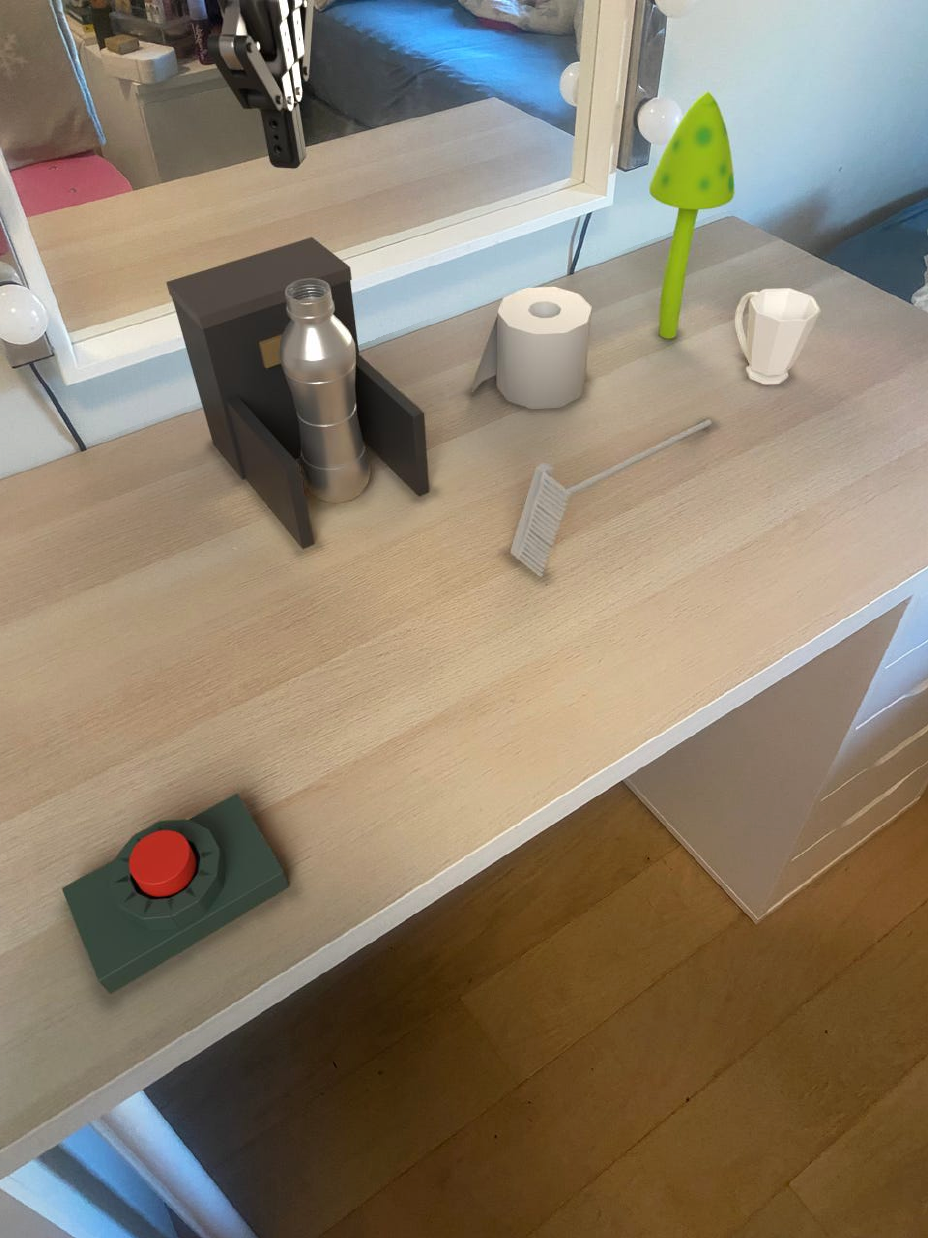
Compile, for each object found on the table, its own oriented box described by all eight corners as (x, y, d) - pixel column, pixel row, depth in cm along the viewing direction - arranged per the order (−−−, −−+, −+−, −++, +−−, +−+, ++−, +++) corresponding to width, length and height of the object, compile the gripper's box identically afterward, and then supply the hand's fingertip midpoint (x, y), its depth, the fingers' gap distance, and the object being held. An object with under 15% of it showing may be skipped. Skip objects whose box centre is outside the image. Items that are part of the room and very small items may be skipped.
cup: (759, 398, 93) (778, 328, 87) (704, 351, 99) (718, 282, 93) (814, 382, 95) (836, 311, 89) (757, 336, 101) (774, 268, 95)
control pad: (110, 995, 54) (88, 970, 51) (73, 903, 58) (50, 875, 55) (289, 887, 58) (278, 858, 55) (243, 809, 62) (231, 778, 59)
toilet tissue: (452, 395, 95) (449, 321, 88) (544, 350, 100) (548, 277, 94) (508, 434, 90) (510, 359, 83) (602, 385, 95) (610, 310, 89)
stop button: (149, 908, 53) (141, 895, 52) (128, 862, 55) (120, 849, 54) (205, 876, 55) (198, 863, 53) (183, 833, 57) (175, 819, 55)
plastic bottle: (303, 514, 82) (263, 314, 67) (306, 468, 87) (269, 271, 72) (373, 509, 83) (348, 309, 68) (372, 463, 87) (349, 266, 72)
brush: (716, 478, 92) (754, 400, 85) (539, 578, 76) (569, 492, 70) (688, 458, 94) (723, 380, 87) (509, 552, 78) (534, 466, 71)
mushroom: (713, 323, 103) (762, 82, 85) (694, 360, 98) (742, 112, 80) (643, 309, 106) (676, 71, 87) (620, 344, 101) (651, 100, 82)
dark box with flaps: (433, 490, 84) (423, 324, 71) (298, 551, 79) (262, 383, 66) (335, 396, 95) (312, 236, 82) (211, 443, 90) (165, 281, 77)
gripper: (216, -182, 54) (271, 125, 67) (116, -140, 46) (201, 201, 59) (334, -183, 53) (367, 130, 66) (254, -140, 45) (309, 209, 58)
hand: (288, 163), depth 62 cm, fingers closed
